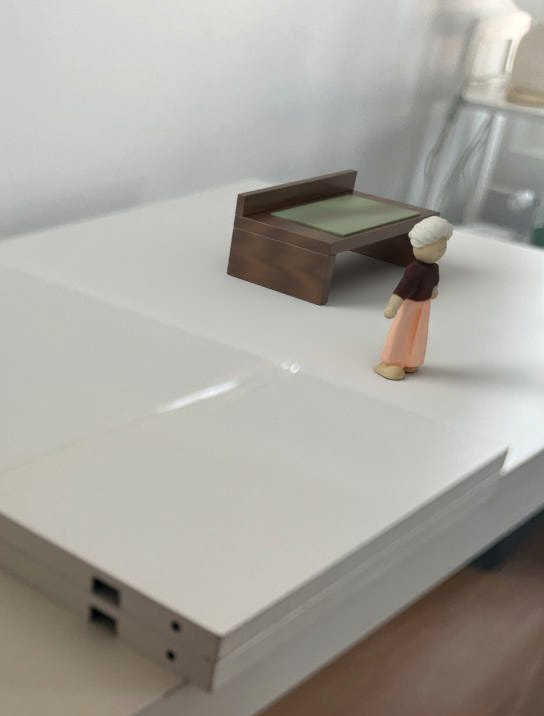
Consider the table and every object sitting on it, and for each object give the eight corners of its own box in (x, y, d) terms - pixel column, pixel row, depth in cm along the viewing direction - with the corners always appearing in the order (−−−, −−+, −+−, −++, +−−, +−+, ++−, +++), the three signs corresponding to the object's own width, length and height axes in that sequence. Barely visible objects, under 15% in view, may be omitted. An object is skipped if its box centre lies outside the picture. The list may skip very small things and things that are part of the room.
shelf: (426, 269, 113) (446, 192, 109) (320, 305, 102) (336, 221, 97) (335, 242, 120) (350, 169, 115) (226, 273, 109) (237, 193, 104)
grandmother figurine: (406, 388, 86) (447, 231, 78) (362, 376, 88) (398, 221, 80) (433, 361, 91) (474, 211, 84) (391, 350, 93) (428, 202, 85)
